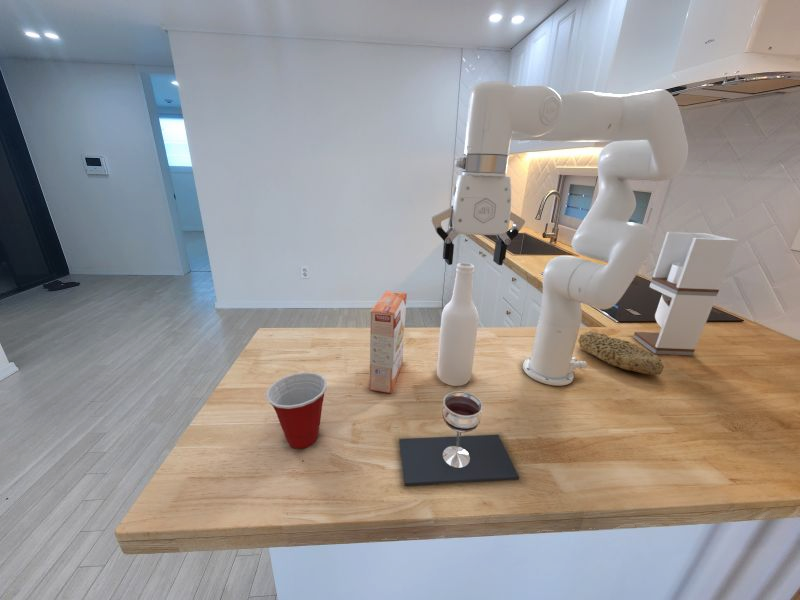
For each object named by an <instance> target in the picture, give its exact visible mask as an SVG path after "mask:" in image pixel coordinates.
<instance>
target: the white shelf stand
mask: <svg viewBox="0 0 800 600" xmlns="http://www.w3.org/2000/svg"><path fill="white" fill-rule="evenodd" d="M739 241H740V240H739V239H736V238H735V239H734V238H731V237H725V236H721V235H716V234H712V233H705V232H684V231H683V232H682V231H681V232H680V231H667V232H666V233H665V237H664V240H663V243H662V246H661V249H660V253H659V256H658V259H657V262H656V265H655V267H654V271H653V274H652V277H651V280H650V284H649V288H650V289H652V290H653V291H657V292H659V293H661V297H660V298H659V302H658V305H657V308H656V310H655V313H654V319H655V321H656V322H655V323H657V325H658V326H659V327H660V331H659V332H649V331H648V332H647V331H634V333H633V336H632V339H634V340H636V341H637V342H639V343H640V344H641V345H643V346H644V348H646V349H648V351H650V352H651V353H653V354H654V355H672V356H673V355H677V356H694V354H695V351H696V349H697V347H698V344H699V341H700V339H701V337H702V333H703V332H704V329H705V326H706V324H707V322H708V320H709V317H710V314H711V312H712V309H713V307H714V304H715V302H716V299H717V296H718V294H719V292H720V290H721V287H722V285H723V281H724V280H725V277H726V275H727V272H728V269H729V268H730V264H731V263H732V260H733V258H734V255H735V253H736V250H737V247H738V244H739Z"/></svg>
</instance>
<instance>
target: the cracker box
mask: <svg viewBox="0 0 800 600" xmlns="http://www.w3.org/2000/svg"><path fill="white" fill-rule="evenodd" d="M406 310H407V293H406V292H403V291H402V292H401V291H390V290H385V291H384V293H383V294H382V295H381V296H380V298H379V299H378V301H377V302H376V303H375V305H374V306H373V308H372V309H371V310H370V327H369V328H370V331H369V333H370V335H369V336H370V337H369V338H370V339H369V387H368V388H369V390H370V391H375V392H381V393H385V394H386V393H387V394H392V393H393V390H394V387H395V385H396V382H397V379H398V376H399V374H400V372H401V368H402V366H403V361H404V345H405V326H406V325H405V324H406V312H407V311H406Z"/></svg>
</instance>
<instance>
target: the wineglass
mask: <svg viewBox="0 0 800 600" xmlns="http://www.w3.org/2000/svg"><path fill="white" fill-rule="evenodd" d="M442 406H443V407H442V409H441V415H442V416H441V417H442V419H443V421H444V423H445V424H446V426H447V427H449V428H450V429H451V430H453V431H455V432H456V436H457V441H456V446H450V447H448V448H446V449H445V450H444V451H443V458H444V460H445V462H446V463H447V464H449V465H451V466H453V467H457V468H461V467H465V466H466V465H468V463H469V461H470V457H469V454H468V452H467V451H466V450H464V449H463V448H461V447H459V443H460V437H461V436H462V433H468V432H472V431H474V430H476V429H477V427H478V426H479V424H480V423H481V421H482V415H483V414H482V410H483V403H482V401H481V400H480V398H479V397H477V396H476V395H475V394H472V393H470V392H467V391H461V390H459V391H458V390H456V391H451V392H449V393H447V394H446V395H445V396H444V397H443V405H442Z"/></svg>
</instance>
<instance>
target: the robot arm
mask: <svg viewBox="0 0 800 600" xmlns="http://www.w3.org/2000/svg"><path fill="white" fill-rule="evenodd" d="M464 136H465V137H464V147H463V154H462V156H461V157H459V158H455V160H454V163H453V164H454V168H458V169H460V172H461V174H457V177H456V181H455V184H454V189H453V194H452V197H451V205H450V207H449V208H447V209H445V210H444V211H441V212H439V213H437V214H435V215H433V216H432V217H430V221H431V223H432V226H433V229H434V231H435V233H436V234H437V235H438V236H439V237H440V238H441V239H442V241H443V249H442V260H444V262H445V264H447V265H448V266H451V265H453V262H454V251H455V244H454V243H453V241H454V240H455V239H456V238H457V237H458V235H469V236H471V235H474V236H476V235H477V236H496V238H497V240H496V242H495V245H494V252H493V259H492V261H493V262H494V263H495V264H496V265H498V266H503V264H504V261H505V260H506V257H507V256H506V255H507V250H508V245H510V244H511V241H512V240H513V239H515V238H516V237H517V236H518V235H519V232H520V231H521V230H522V228H523V226H524V225H525V223H526V220H525V219H524V218H522V217H521V216H519V215H518V214H515V213H514V212H512V177H511V176H507V171H508V163H509V158H510V157H509V155H510V148H511V141H542V142H556V143H568V142H569V143H570V142H572V143H573V142H574V143H576V142H577V143H579V142H580V143H582V142H583V143H584V142H591V143H607V144H606V145H605V146H604V147H603V148H602V149H601V151H600V152H599V156H598V159H597V163H596V164H597V165H596V166H597V167H596V168H597V176H598V177H597V178H598V192H597V196H596V199H595V201H594V202H593V204H592V206H591V207H590V209H589V210H588V212H587V214H586V215H585V217H584V218H583V220H582V221H581V223H580V225H579V226H578V228H577V229H576V231H575V233H574V235H573V237H572V240H571V248H572V250H573V252H575V253H576V254H578V255H580V256H583V257H585V258H588V259H584V258H580V257H577V256H572V255H558V256H555V257H553V258H552V259H550V260H549V261H548V262H547V263H546V265H545V267H544V269H543V272H542V299H541V306H540V312H539V316H538V321H537V325H536V330H535V335H534V341H533V346H532V350H531V354H530V357H528V358H526V359H525V360H524V361H523V363H522V370H523V371H524V373H525V374H526V375H527V376H529V378H531V379H533V380H535V381H537V382H539V383H541V384H545V385H549V386H555V387H561V386H567V385H569V384H571V383H572V382H573V381H574V377H575V374H574V371H575V370H577V369H579V370H580V369H581V370H582V369H583V370H585V369H587V368H588V363H587V362H586V361H585V360H583V361H582V360H581V361H580V360H577V357H573V354H574V350H575V346H576V343H577V340H578V334H579V331H580V327H581V323H582V318H583V311H582V309H583V308H582V305H581V304H583V305H586V306H589V307H592V308H593V309H594V308H595V309H598V310H609V309H611V308H613V307H614V306H616V305H617V304H618V302H620V300H621V299H622V297H623V296H624V295H625V293H626V291H627V290H628V288H630V286H631V284H632V282H633V281H634V279H635V278H636V276H637V275H638V273H639V272H640V271H641V269H642V267H643V265H644V264H645V262H646V260H647V259H648V257H649V255H650V253H651V251H652V248H653V243H654V235H653V232H652V230H651V228H649V227H648V226H647V225H645V224H642V223H639V222H634V221H630V219H631V217H632V215H633V214H634V212H635V211H636V207H637V200H636V195H635V192H634V190H633V189H632V186H631V184H630V180H634V181H653V182H654V181H655V182H656V181H657V182H658V181H659V182H661V181H668V180H671V179H673V178H675V177H677V176H678V175H679V174H680V173H681V172H682V171H683V170H684V168H685V166H686V164H687V162H688V156H689V143H688V138H687V134H686V130H685V125H684V122H683V116H682V113H681V109H680V108H679V105H678V102H677V100H676V99H675V97H674V95H672V94H671V93H670V91H668V90H666V89H654V90H653V89H652V90H647V91H641V92H633V93H628V94H615V93H614V94H613V93H604V92H595V91H587V90H583V91H582V90H581V91H573V92H566V93H560V94H558V92H557V91H556V90H554V88H551V87H549V86H547V85H514V83H512V82H508V81H503V80H487V81H481V82H479V83H477V84H475V85H473V87H472V88H471V89H470V92H469V96H468V105H467V114H466V125H465V134H464ZM447 219H449V220H448V224H449V225H448V226H449V228H448V229H447V230H446V231H445V230H444V228H443V226H442V222H443V221H445V220H447ZM510 221H511V222H512V223H513V224H512V225H511V227H510ZM509 227H510V228H509ZM589 259H593V260H596V261H600V262H604V263H607V264H602V263H599V262H596V261H595V262H594V261H592V260H589Z"/></svg>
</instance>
